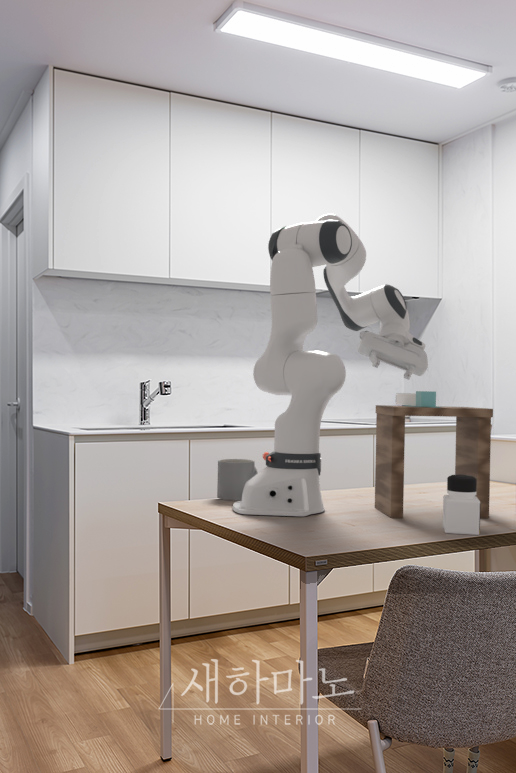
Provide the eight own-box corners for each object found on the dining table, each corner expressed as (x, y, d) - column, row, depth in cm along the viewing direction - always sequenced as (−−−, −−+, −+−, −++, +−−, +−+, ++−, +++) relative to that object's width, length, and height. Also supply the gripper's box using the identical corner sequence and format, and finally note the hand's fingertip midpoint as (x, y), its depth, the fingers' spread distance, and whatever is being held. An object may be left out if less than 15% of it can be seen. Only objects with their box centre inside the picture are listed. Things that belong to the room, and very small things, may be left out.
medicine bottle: (480, 535, 145) (481, 478, 145) (444, 533, 146) (445, 476, 146) (476, 528, 152) (477, 474, 152) (442, 527, 153) (443, 472, 153)
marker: (435, 406, 165) (436, 391, 165) (421, 406, 165) (421, 391, 165) (405, 404, 188) (406, 391, 188) (392, 404, 188) (393, 390, 188)
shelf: (391, 518, 162) (394, 406, 162) (373, 506, 178) (375, 404, 178) (490, 518, 164) (493, 407, 164) (464, 507, 180) (466, 406, 180)
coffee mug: (231, 501, 181) (232, 463, 181) (209, 496, 189) (210, 459, 189) (271, 497, 190) (271, 460, 190) (248, 492, 198) (249, 457, 198)
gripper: (365, 320, 199) (361, 350, 189) (430, 346, 201) (430, 376, 190) (356, 336, 203) (352, 366, 193) (420, 361, 205) (420, 391, 195)
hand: (391, 371), depth 192 cm, fingers open, 8 cm apart
